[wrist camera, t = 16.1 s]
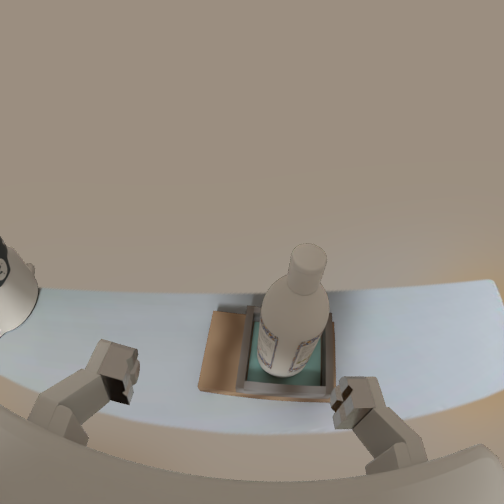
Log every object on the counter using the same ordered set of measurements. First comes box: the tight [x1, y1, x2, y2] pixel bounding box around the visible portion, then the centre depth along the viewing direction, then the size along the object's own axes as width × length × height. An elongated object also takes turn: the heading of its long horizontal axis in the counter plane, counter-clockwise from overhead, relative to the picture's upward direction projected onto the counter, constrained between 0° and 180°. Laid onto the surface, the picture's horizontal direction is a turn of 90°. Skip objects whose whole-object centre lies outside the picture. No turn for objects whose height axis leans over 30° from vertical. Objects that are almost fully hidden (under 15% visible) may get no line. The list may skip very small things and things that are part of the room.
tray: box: [198, 306, 336, 402], centre depth 38 cm, size 18×12×4 cm, turn 84°
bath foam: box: [257, 244, 329, 378], centre depth 30 cm, size 7×7×20 cm
